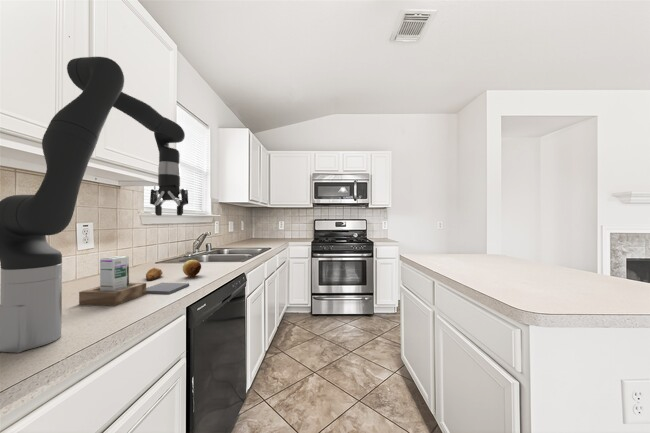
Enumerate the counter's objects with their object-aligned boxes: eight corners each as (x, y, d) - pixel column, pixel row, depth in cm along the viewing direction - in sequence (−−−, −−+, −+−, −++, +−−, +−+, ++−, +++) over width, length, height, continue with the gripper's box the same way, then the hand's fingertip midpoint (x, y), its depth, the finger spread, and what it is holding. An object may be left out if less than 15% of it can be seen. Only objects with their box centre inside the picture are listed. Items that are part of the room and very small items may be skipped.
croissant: (158, 281, 117) (158, 270, 117) (140, 282, 115) (140, 270, 115) (166, 274, 130) (166, 264, 130) (150, 275, 128) (150, 265, 128)
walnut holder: (115, 305, 84) (115, 292, 84) (79, 304, 85) (79, 291, 85) (146, 293, 97) (146, 283, 97) (114, 292, 98) (114, 282, 98)
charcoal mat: (169, 294, 96) (169, 291, 96) (139, 293, 98) (139, 290, 98) (189, 285, 108) (189, 283, 108) (162, 284, 109) (162, 282, 109)
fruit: (203, 274, 129) (203, 258, 130) (196, 278, 121) (196, 261, 121) (187, 274, 129) (187, 258, 129) (179, 278, 121) (179, 261, 121)
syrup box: (113, 301, 87) (113, 258, 88) (99, 300, 89) (99, 257, 89) (129, 296, 93) (129, 256, 93) (115, 295, 94) (116, 255, 94)
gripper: (145, 173, 101) (145, 215, 101) (180, 172, 100) (180, 215, 100) (159, 176, 108) (158, 216, 108) (192, 176, 107) (191, 215, 107)
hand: (169, 215), depth 104 cm, fingers open, 8 cm apart
